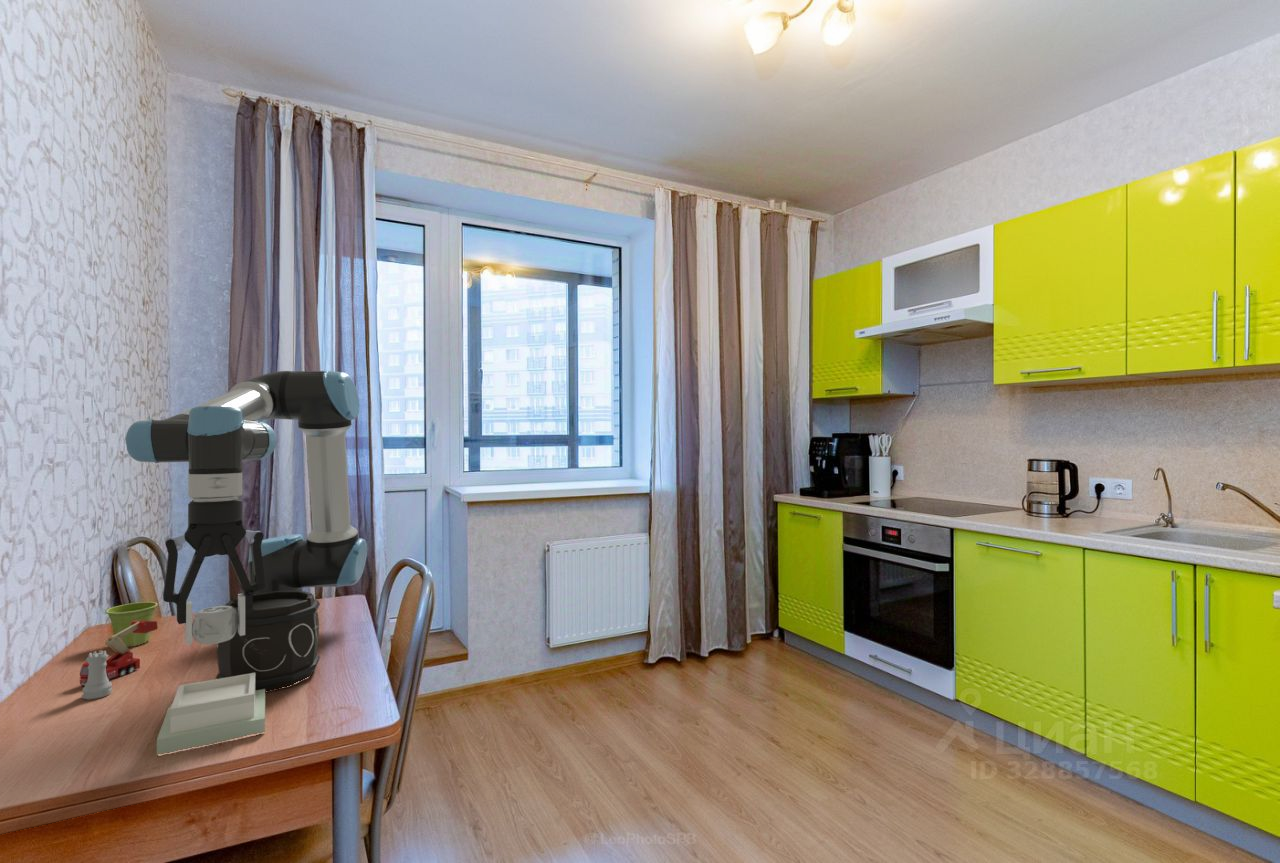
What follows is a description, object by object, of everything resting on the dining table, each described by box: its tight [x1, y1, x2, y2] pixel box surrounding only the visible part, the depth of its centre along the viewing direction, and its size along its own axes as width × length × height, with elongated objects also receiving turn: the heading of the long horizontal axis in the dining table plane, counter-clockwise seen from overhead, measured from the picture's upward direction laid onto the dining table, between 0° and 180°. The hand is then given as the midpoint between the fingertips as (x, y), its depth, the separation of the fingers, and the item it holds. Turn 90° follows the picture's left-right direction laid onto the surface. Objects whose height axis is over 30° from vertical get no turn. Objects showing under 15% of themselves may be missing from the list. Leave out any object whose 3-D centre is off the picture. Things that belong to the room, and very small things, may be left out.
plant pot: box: [105, 601, 158, 648], centre depth 148 cm, size 9×9×9 cm
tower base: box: [156, 673, 266, 756], centre depth 104 cm, size 14×14×7 cm
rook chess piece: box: [81, 650, 113, 701], centre depth 118 cm, size 4×4×8 cm
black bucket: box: [215, 590, 321, 693], centre depth 126 cm, size 18×18×16 cm
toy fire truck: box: [79, 620, 158, 687], centre depth 128 cm, size 3×14×10 cm, turn 168°
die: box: [192, 605, 238, 645], centre depth 105 cm, size 5×5×5 cm
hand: (215, 637), depth 104 cm, fingers closed on die, 7 cm apart
